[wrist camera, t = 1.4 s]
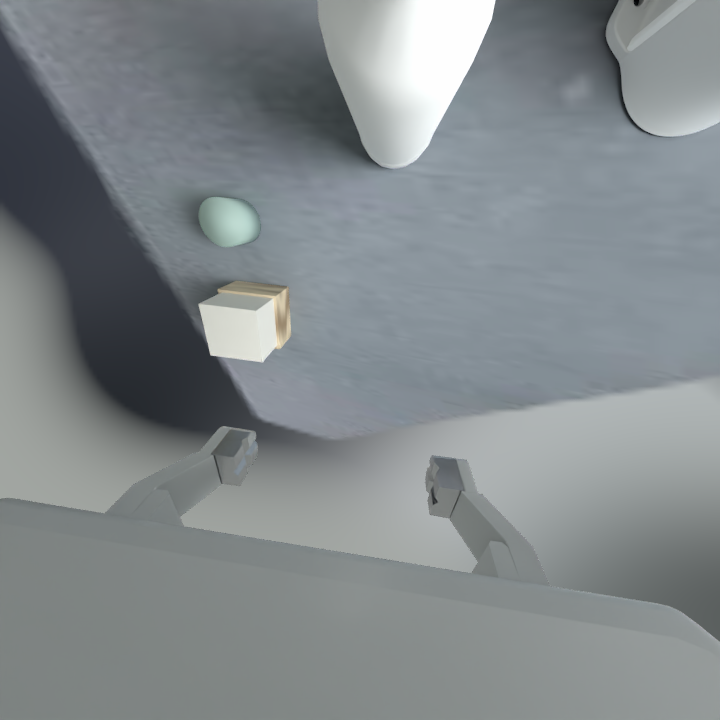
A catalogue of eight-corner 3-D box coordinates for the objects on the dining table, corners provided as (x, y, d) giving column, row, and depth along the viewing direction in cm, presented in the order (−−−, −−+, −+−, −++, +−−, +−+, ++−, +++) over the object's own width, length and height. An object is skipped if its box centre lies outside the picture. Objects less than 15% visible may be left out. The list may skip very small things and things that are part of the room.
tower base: (236, 280, 39) (217, 289, 34) (288, 286, 38) (275, 296, 34) (244, 329, 43) (227, 342, 38) (291, 335, 42) (280, 349, 38)
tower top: (222, 292, 34) (198, 303, 30) (273, 298, 34) (256, 310, 30) (231, 339, 38) (210, 355, 34) (277, 345, 38) (262, 362, 33)
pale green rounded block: (219, 196, 33) (193, 194, 29) (258, 200, 33) (238, 199, 29) (226, 240, 36) (204, 244, 31) (262, 244, 36) (245, 249, 31)
